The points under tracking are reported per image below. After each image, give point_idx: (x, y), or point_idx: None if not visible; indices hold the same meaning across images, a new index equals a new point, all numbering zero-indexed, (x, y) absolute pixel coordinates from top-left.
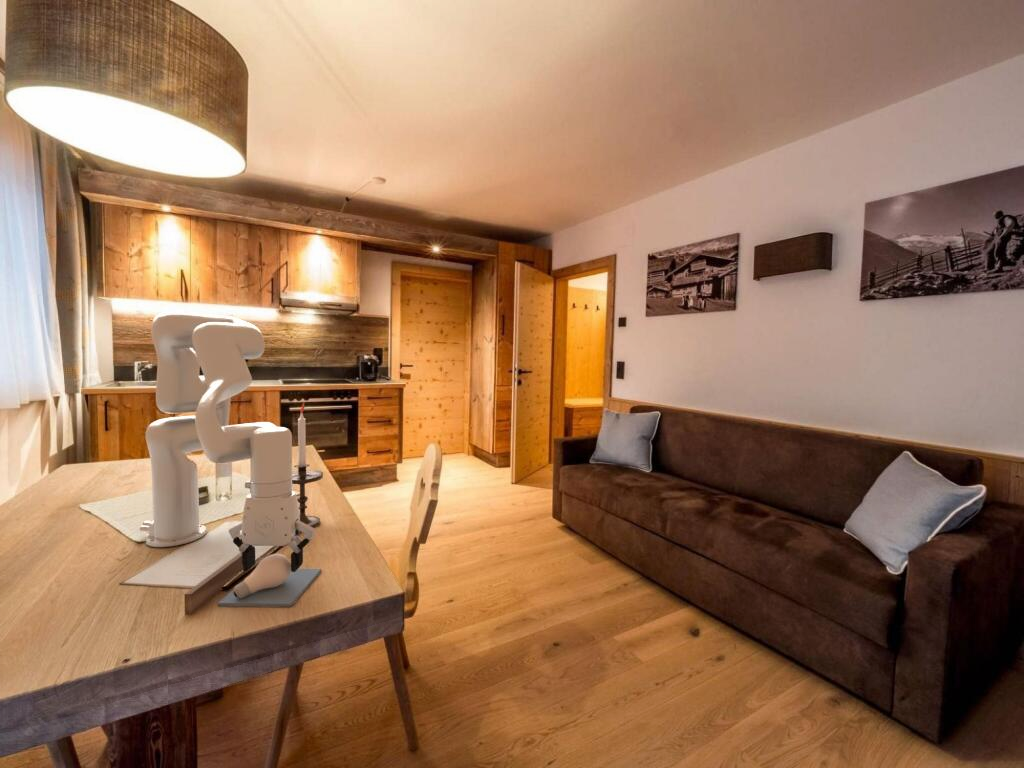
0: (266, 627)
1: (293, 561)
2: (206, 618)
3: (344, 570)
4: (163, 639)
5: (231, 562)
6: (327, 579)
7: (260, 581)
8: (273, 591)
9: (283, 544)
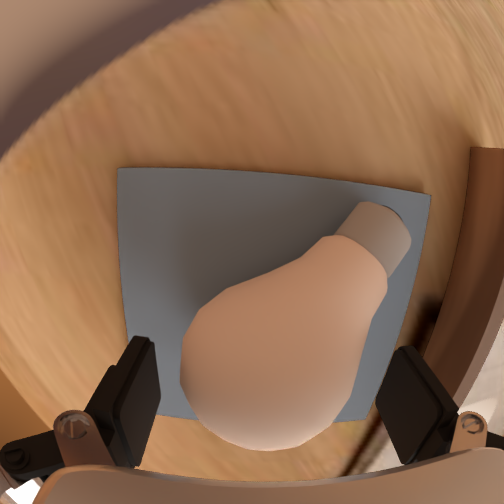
0: (162, 33)
1: (115, 371)
2: (422, 112)
3: (81, 397)
4: (462, 32)
5: (456, 397)
6: (95, 357)
7: (297, 269)
8: (242, 274)
9: (105, 473)
